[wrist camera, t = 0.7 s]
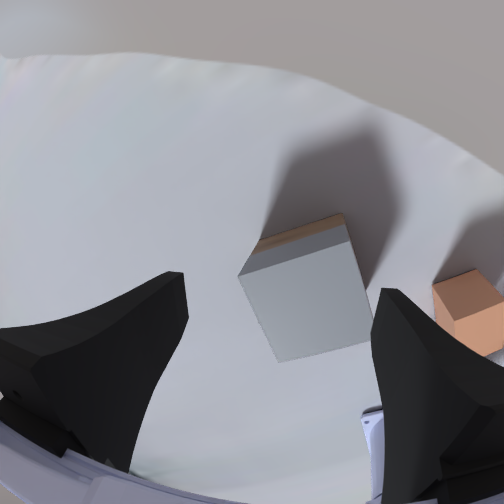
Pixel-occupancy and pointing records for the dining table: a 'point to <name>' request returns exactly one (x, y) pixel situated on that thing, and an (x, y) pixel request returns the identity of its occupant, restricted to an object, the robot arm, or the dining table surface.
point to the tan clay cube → (471, 311)
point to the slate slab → (309, 295)
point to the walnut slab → (300, 233)
